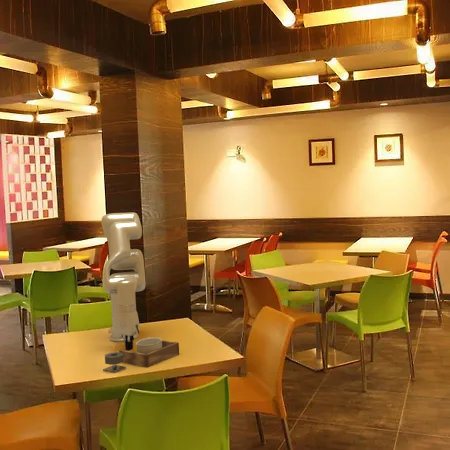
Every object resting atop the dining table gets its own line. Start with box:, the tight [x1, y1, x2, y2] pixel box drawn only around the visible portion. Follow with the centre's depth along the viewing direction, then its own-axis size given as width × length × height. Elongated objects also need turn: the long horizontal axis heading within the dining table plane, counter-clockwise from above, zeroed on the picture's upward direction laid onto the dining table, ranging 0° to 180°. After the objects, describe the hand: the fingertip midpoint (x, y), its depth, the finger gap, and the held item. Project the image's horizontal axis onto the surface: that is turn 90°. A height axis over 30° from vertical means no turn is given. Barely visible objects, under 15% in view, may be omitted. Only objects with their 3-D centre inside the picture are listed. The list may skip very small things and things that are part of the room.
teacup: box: [135, 336, 163, 354], centre depth 247 cm, size 14×11×8 cm
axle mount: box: [102, 364, 127, 374], centre depth 234 cm, size 6×6×3 cm
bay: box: [118, 339, 180, 368], centre depth 247 cm, size 15×20×5 cm
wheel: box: [104, 351, 123, 366], centre depth 233 cm, size 7×7×3 cm
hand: (129, 349), depth 254 cm, fingers closed
